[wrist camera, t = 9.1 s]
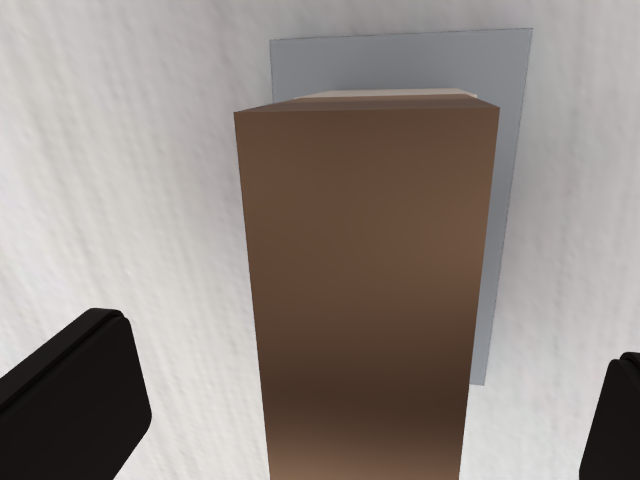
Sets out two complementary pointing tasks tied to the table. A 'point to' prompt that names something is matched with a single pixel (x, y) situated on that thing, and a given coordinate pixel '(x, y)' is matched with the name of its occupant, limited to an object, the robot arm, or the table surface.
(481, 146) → the walnut beam
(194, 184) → the table surface
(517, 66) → the slate board
